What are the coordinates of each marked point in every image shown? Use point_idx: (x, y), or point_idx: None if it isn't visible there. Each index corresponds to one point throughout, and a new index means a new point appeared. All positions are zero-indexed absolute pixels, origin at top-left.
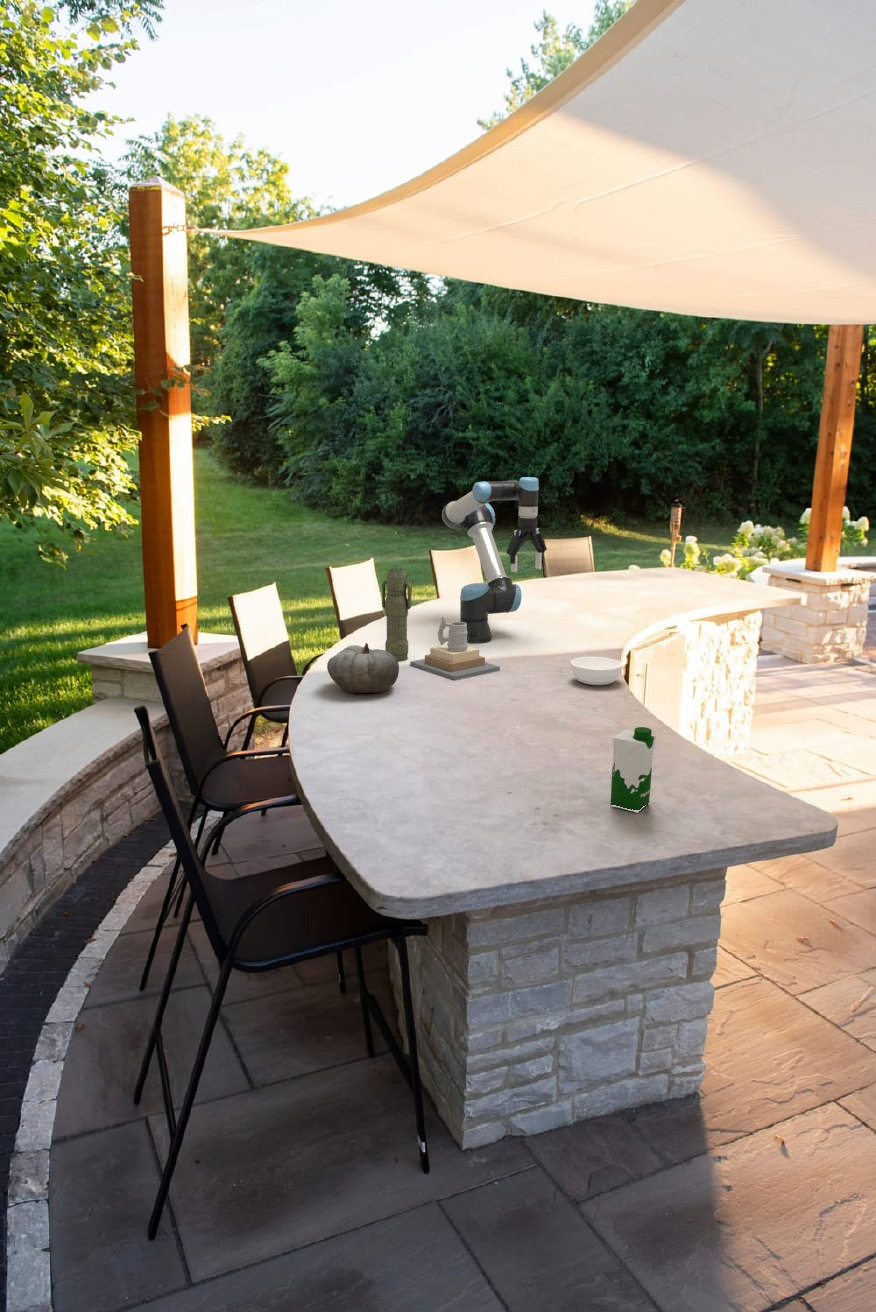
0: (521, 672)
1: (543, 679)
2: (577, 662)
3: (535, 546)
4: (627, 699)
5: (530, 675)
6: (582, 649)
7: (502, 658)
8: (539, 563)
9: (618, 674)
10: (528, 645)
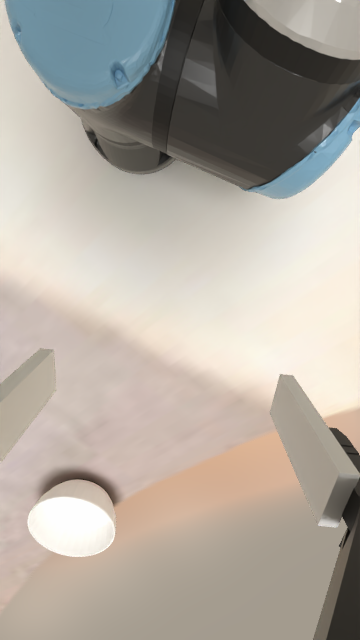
0: None
1: (26, 443)
2: (70, 492)
3: (339, 573)
4: None
5: None
6: (253, 378)
7: (61, 311)
8: (282, 436)
9: (87, 541)
10: (198, 275)
